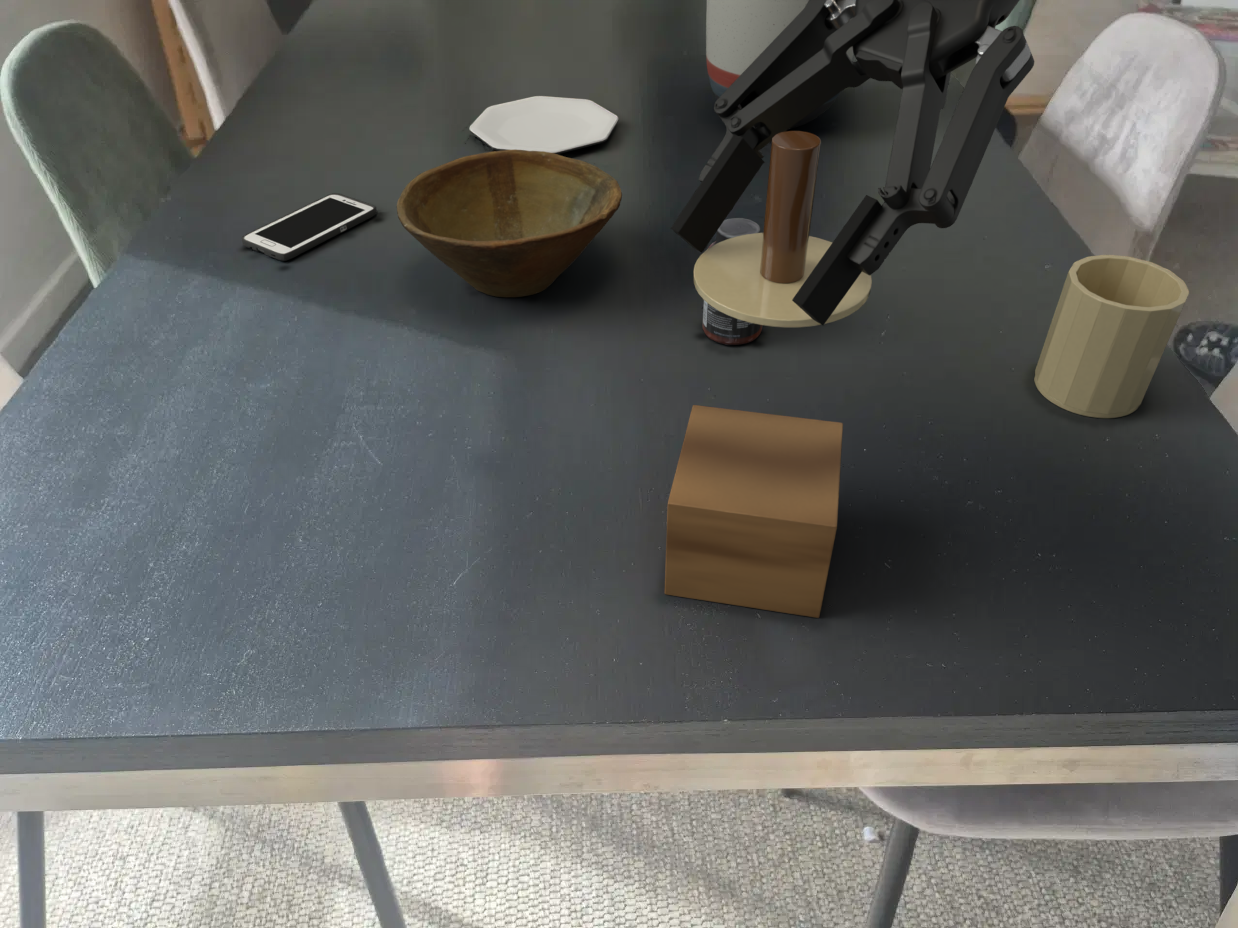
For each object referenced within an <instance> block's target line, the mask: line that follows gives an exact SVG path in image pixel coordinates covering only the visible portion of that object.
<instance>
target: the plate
mask: <svg viewBox="0 0 1238 928" xmlns="http://www.w3.org/2000/svg"><path fill="white" fill-rule="evenodd" d="M619 121H620V120H619V116H618V115H617V114H615V113H613V112H611V111H609V110H608V109H606V108H605V107H603V106H601V105H599V104H598V103H596V102H595V101H593V100H590V99H587V98H586V99H585V98H572V97H562V96H561V97H560V96H559V97H558V96H547V95H546V96H545V95H536V96H535V95H534V96H530V97H526V98H521V99H516V100H512V101H507V102H503V103H499V104H494V105H490V106H488V107H486V108H485V109H484V110H483V111H482V112H481V114H479V116H478V117H477V118H476V119H475V120H474V121H473V122H472V123H471V124H470V125H469V132H470V133H471V134H472V135H474V136H475V137H476V138H477V139H479V140H480V141H482V142H483V143H484V144H486V145H487V146H488V147H489V148H491V149H492V150H493V151H503V150H515V149H516V150H526V151H543V152H549V153H554V154H558V155H561V154H563V153H569V152H572V151H576V150H579V149H580V150H581V149H584V148H588V147H591V146H596V145H600V144H603V143H605V142H607V141H608V139H609V137H610V136H611V134H612V132H613V131H614V129H615V127H616V125H617V124H618V122H619Z"/></svg>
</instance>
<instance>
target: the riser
mask: <svg viewBox="0 0 1238 928" xmlns="http://www.w3.org/2000/svg"><path fill="white" fill-rule="evenodd" d="M843 431H844V423H843V422H839V421H830V420H821V419H814V418H806V417H805V418H804V417H799V416H798V417H797V416H788V415H780V414H774V413H773V414H772V413H765V412H756V411H747V410H739V409H731V408H721V407H714V406H705V405H698V404H693V405H692V407H691V410H690V414H689V418H688V423H687V425H686V430H685V433H684V439H683V442H682V444H681V449H680V454H679V457H678V461H677V465H676V469H675V473H674V478H673V480H672V484H671V488H670V492H669V496H668V500H667V509H666V535H665V536H666V538H665V569H664V595H667V596H673V597H680V598H687V599H692V600H700V601H705V602H706V601H707V602H712V603H719V604H723V605H724V604H725V605H731V606H738V607H745V608H752V609H758V610H763V611H769V612H770V611H771V612H778V613H782V614H783V613H784V614H789V615H790V614H791V615H796V616H801V617H802V616H803V617H808V618H809V617H810V618H815V619H816V618H817V619H819V618H820V616H821V612H822V606H823V602H824V601H823V600H824V595H825V592H826V591H825V590H826V585H827V581H828V575H829V570H830V565H831V560H832V555H833V550H834V544H835V539H836V535H837V529H838V520H839V501H840V486H841V485H840V483H841V466H842V448H843Z"/></svg>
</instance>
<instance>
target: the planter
mask: <svg viewBox="0 0 1238 928" xmlns="http://www.w3.org/2000/svg"><path fill="white" fill-rule="evenodd" d="M808 1H809V0H706V10H705V11H706V17H705V18H706V20H705V47H706V48H705V56H706V57H705V58H706V59H705V60H706V69H707V77H708V79H709V84H710V87H711V91H712V93H713V95H714V97H715V99H716V100H717V99H718V98H719V97H720V96H721V95H722V94H723V93H724V92H725V91H726V90H727V89H728V88H729V87H730V86H731V85H732V83H733V82H734V81H735V80H736V79H737V78H738V77H739V76H740V75H741V74H742V73H743V72H744V71H745V70H746V69H747V68H748V67H749V66H750V65H751V64H752V63H753V61H754V60H755V59H756V58H757V57H758V56H759V55H760V54H761V53H762V52H763V51H764V50H765V49H766V48H767V47H768V46H769V45H770V44H771V43H772V42H773V41H774V39H775V38H776V37H777V36H778V35H779V34H780V33H781V32H782V31H783V30H784V29H785V28H786V27H787V26H788V25H789V24H790V23H791V22H792V21H793V20H794V19H795V17H796V16H797V15H798V14H799V13H800V12H801V11H802V10H803V9H804V8H805V6H806V4H807V3H808ZM849 21H850V20H849ZM846 53H847V55H848V56H849V58H850V59H851V61H853V57H854V53H853V46H852V47H851V48H849V49H848V50H847V52H846ZM840 94H841V92H840V93H838V94H837V95H836V96H834V97H833V98H831V99H830V100H829V101H827V102H826V103H824V104H823V105H822V106H820V107H819V108H817V109H816V110H815V111H813V112H812V113H810V114H809V115H808V116H806V117H805V118H803V119H802V120H801V121H799V122H798V123H797V124H795V125H794V126H792V127H791V128H790V129H789V130H792V129H794V128H798V127H803V126H804V125H806V124H809V123H810V122H812V121H814V120H816V119H817V118H819V117H820V116H821V115H823V114H824V113H825V112H826V111H828V110H829V109H830V108H831V106H832V105H834V103H835V101H836V100H837V99H838V98H839V96H840ZM738 107H739V108H740V104H739V105H738ZM759 124H760V122H759V123H757V124H755V125H754V127H755V128H757V127H758V126H759Z"/></svg>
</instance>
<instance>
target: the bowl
mask: <svg viewBox="0 0 1238 928" xmlns="http://www.w3.org/2000/svg"><path fill="white" fill-rule="evenodd" d="M622 198H623V193H622V189H621V187H620V184H619V182H618V180H617V179H616V178H615V177H613V176H612V175H610V174H609V173H608V172H606V171H604V170H602V169H601V168H599V167H598V166H596V165H594V164H592V163H589V162H587V161H584V160H581V159H576V158H571V157H566V156H563V155H561V154H554V153H549V152H543V151H526V150H516V149H515V150H503V151H498V150H493V151H486V152H481V153H475V154H471V155H465V156H461V157H459V158H456V159H453V160H450V161H447V162H445V163H443V164H440V165H438V166H434V167H432V168H429V169H428V170H425V171H423V172H421V173H419V174H417V175H415V177H414V178H413V179H411V180H410V182H408V183H407V184H406V186H405V187H404V188H403V189H402V191H401V193H400V195H399V197H398V199H397V202H396V207H395V208H396V214H397V218H398V220H399V222H400V223H401V225H402V227H403V228H404V229H405V230H406V231H407V232H408V233H409V234H410V235H411V236H412V237H413V238H414V239H415V240H416V241H417V242H418V243H420V244H421V245H422V246H423V247H424V248H425V249H426V250H427V251H428V252H429V253H430V254H432V255H433V256H434V257H435V258H437V259H438V260H439V261H440V262H442V263H443V264H444V265H446V267H448V268H450V269H451V270H452V271H453V272H454V273H455V274H457V275H458V276H459V277H460V278H461V279H462V280H464V281H465V282H466V283H467V284H468V285H470V286H471V287H473V289H475V290H476V291H477V292H479V293H483V294H485V295H487V296H493V297H497V298H521V297H522V298H523V297H528V296H533V295H537V294H538V293H539V294H540V293H542V292H543V291H545V290H546V289H548V288H549V287H550V286H551V285H552V284H553V283H554V282H555V281H556V280H557V279H558V278H559V276H560V275H561V274H563V273H564V272H565V271H566V270H567V269H569V267H570V266H571V265H572V264H573V263H574V262H575V261H576V260H577V259H578V257H580V255H581V254H582V253H583V252H584V251H585V249H586V248H587V247H588V246H589V245H590V243H592V241H593V240H594V239H595V238H596V236H597V235H598V234H599V233H600V232H602V230H603V229H604V228H605V226H606V225H607V223H609V221H610V220H611V219H612V218H613V216H614V215H615V213H616V212H617V211H618V210H619V208H620V206H621V203H622Z"/></svg>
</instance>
